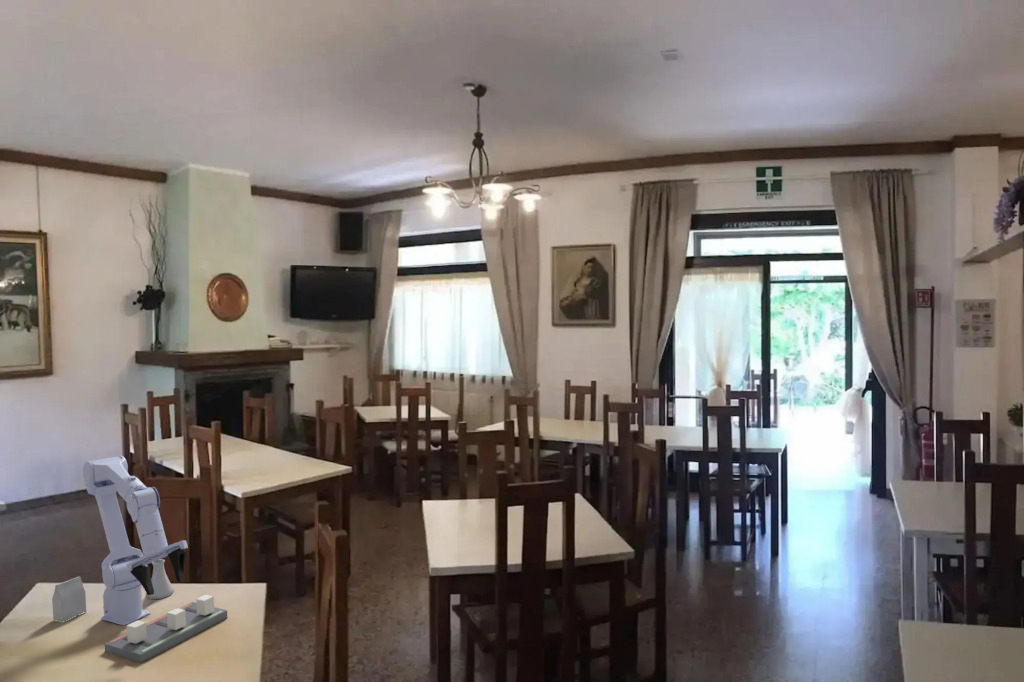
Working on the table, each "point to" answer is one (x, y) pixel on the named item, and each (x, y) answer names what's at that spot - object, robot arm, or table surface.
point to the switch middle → (176, 618)
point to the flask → (160, 581)
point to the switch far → (205, 604)
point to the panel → (164, 634)
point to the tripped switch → (136, 631)
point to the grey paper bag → (68, 599)
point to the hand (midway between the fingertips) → (165, 588)
